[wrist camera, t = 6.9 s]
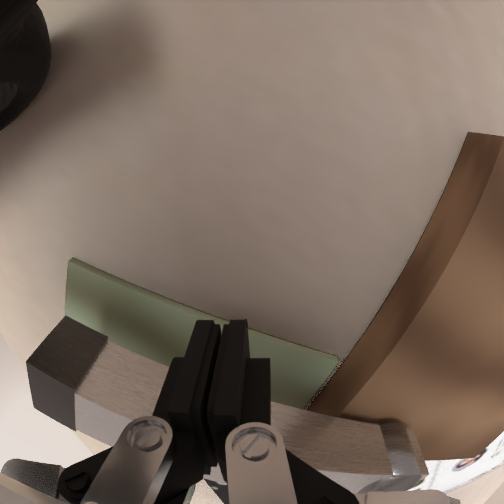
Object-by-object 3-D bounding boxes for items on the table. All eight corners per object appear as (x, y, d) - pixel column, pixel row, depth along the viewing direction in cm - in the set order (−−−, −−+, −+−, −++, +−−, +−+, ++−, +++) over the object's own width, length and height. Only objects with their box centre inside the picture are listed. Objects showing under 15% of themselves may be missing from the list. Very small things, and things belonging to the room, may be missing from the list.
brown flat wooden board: (150, -4, 9) (126, -27, 6) (588, 261, 12) (609, 276, 9) (67, 333, 15) (46, 361, 13) (465, 435, 18) (474, 457, 16)
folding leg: (418, 425, 12) (434, 471, 10) (380, 458, 14) (390, 500, 11) (66, 313, 11) (25, 359, 8) (64, 364, 12) (34, 408, 9)
